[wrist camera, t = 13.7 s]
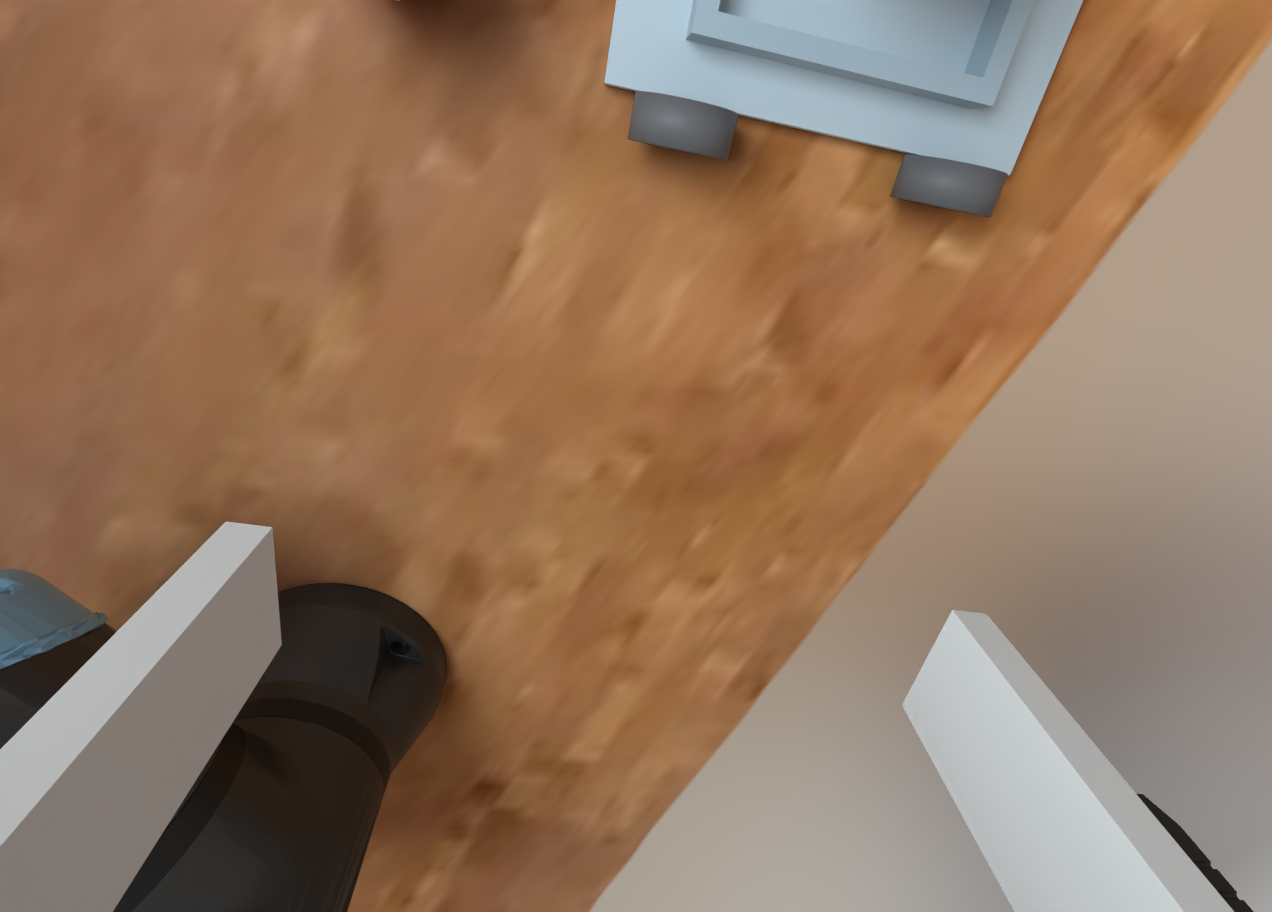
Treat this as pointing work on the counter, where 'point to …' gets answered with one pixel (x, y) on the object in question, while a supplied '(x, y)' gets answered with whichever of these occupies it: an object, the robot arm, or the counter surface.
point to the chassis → (848, 79)
